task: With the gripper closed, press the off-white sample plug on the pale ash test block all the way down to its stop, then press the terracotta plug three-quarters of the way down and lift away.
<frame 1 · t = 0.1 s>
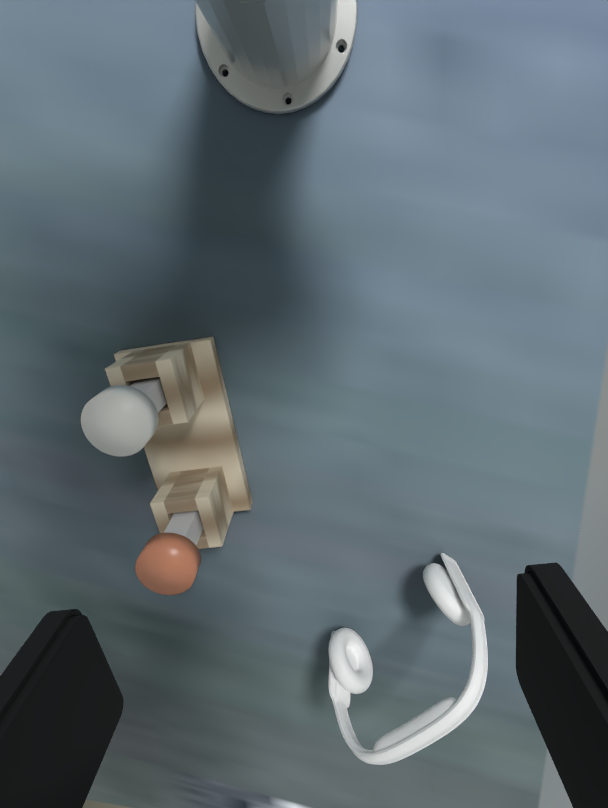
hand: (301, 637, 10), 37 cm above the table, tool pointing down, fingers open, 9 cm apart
test block: (190, 431, 49), on the table
headset: (392, 593, 56), on the table
terracotta plug: (179, 541, 42), point 10 cm above the table, slide at 0.0 cm
sample plug: (136, 406, 37), point 10 cm above the table, slide at 0.0 cm
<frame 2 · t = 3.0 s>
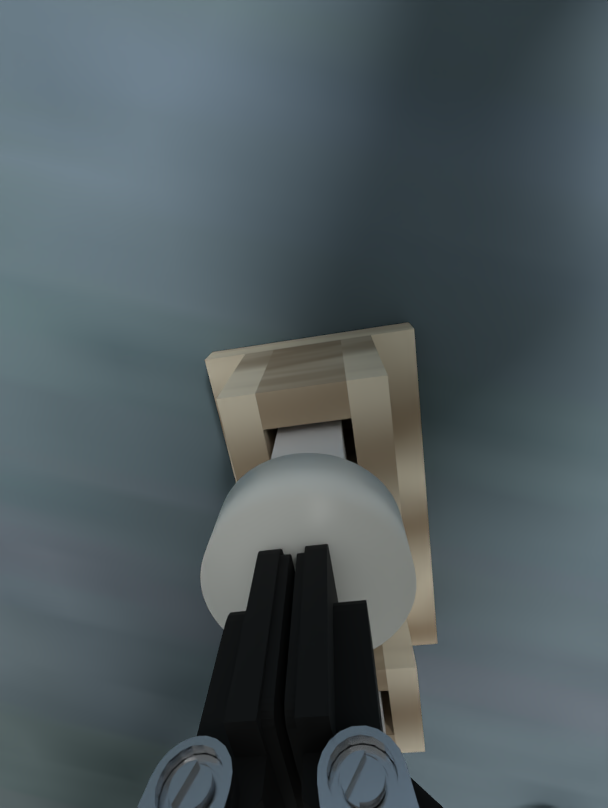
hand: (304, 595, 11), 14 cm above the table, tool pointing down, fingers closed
test block: (335, 504, 26), on the table
terracotta plug: (362, 775, 19), point 10 cm above the table, slide at 0.0 cm
sample plug: (312, 494, 14), point 10 cm above the table, slide at 0.4 cm, touching gripper
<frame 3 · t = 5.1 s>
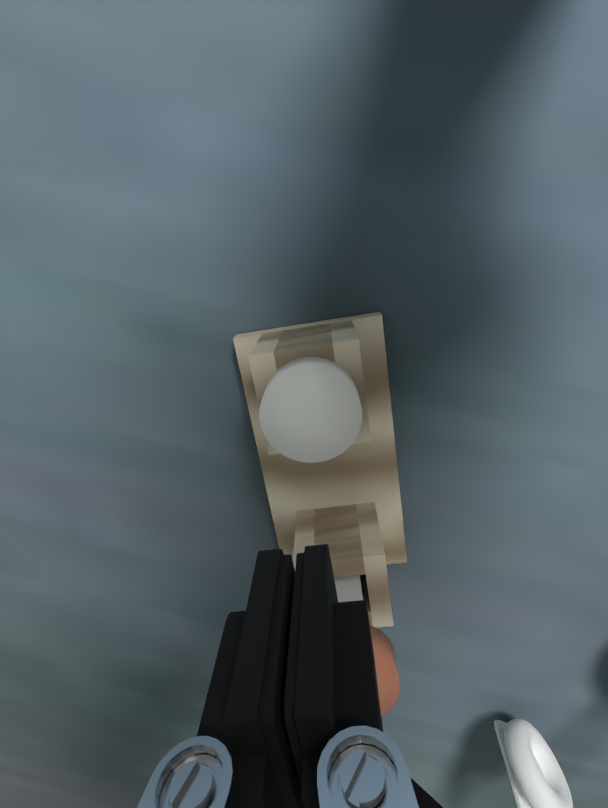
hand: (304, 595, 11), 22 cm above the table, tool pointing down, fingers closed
test block: (327, 451, 34), on the table
headset: (579, 669, 41), on the table
terracotta plug: (346, 627, 27), point 10 cm above the table, slide at 0.0 cm
sample plug: (312, 391, 26), point 6 cm above the table, slide at 4.0 cm
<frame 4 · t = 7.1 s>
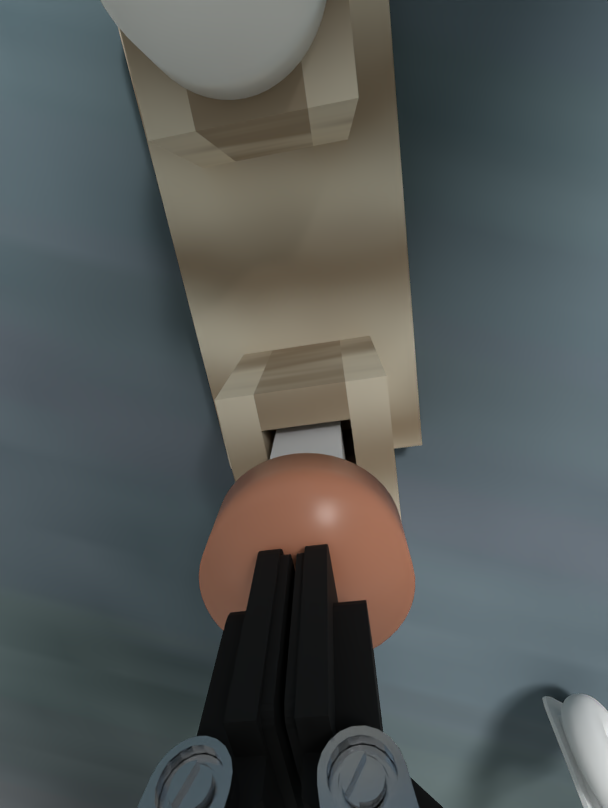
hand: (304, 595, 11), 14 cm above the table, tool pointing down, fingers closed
test block: (293, 254, 21), on the table
terracotta plug: (310, 494, 14), point 9 cm above the table, slide at 0.5 cm, touching gripper
sample plug: (237, 11, 13), point 6 cm above the table, slide at 4.0 cm
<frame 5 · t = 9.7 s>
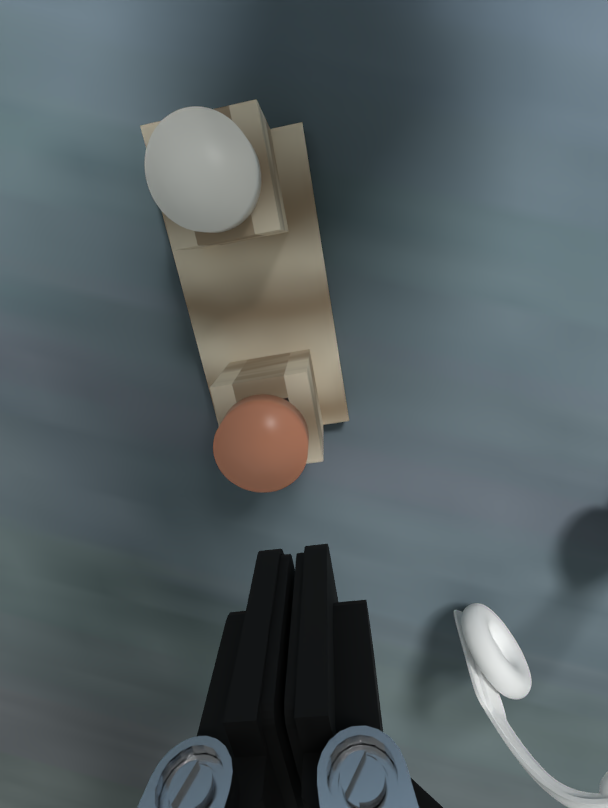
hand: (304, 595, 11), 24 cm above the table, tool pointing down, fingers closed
test block: (260, 298, 32), on the table
headset: (542, 553, 39), on the table
terracotta plug: (268, 422, 28), point 7 cm above the table, slide at 2.9 cm
sample plug: (219, 182, 24), point 6 cm above the table, slide at 4.0 cm
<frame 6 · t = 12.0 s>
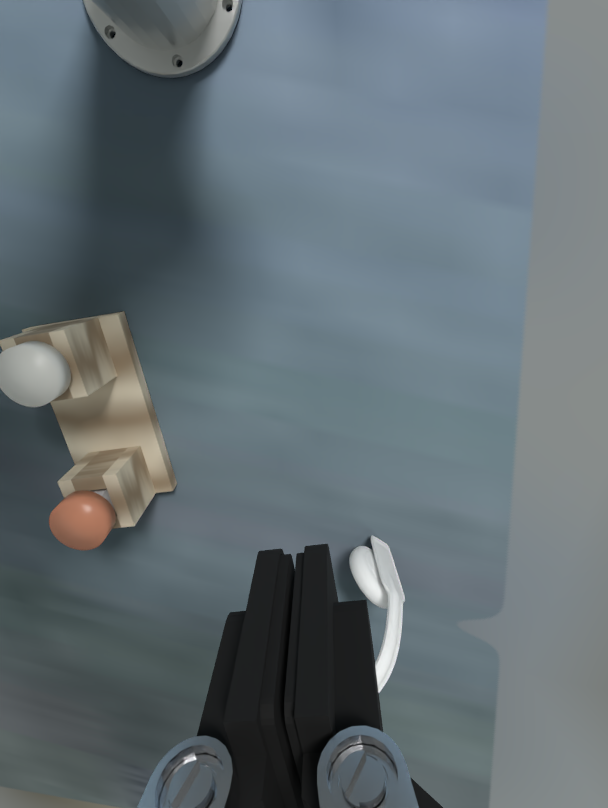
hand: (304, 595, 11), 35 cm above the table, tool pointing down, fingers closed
test block: (108, 410, 48), on the table
headset: (326, 578, 55), on the table
terracotta plug: (98, 501, 44), point 7 cm above the table, slide at 2.9 cm
sample plug: (54, 364, 40), point 6 cm above the table, slide at 4.0 cm
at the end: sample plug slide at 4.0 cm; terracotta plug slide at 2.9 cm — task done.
